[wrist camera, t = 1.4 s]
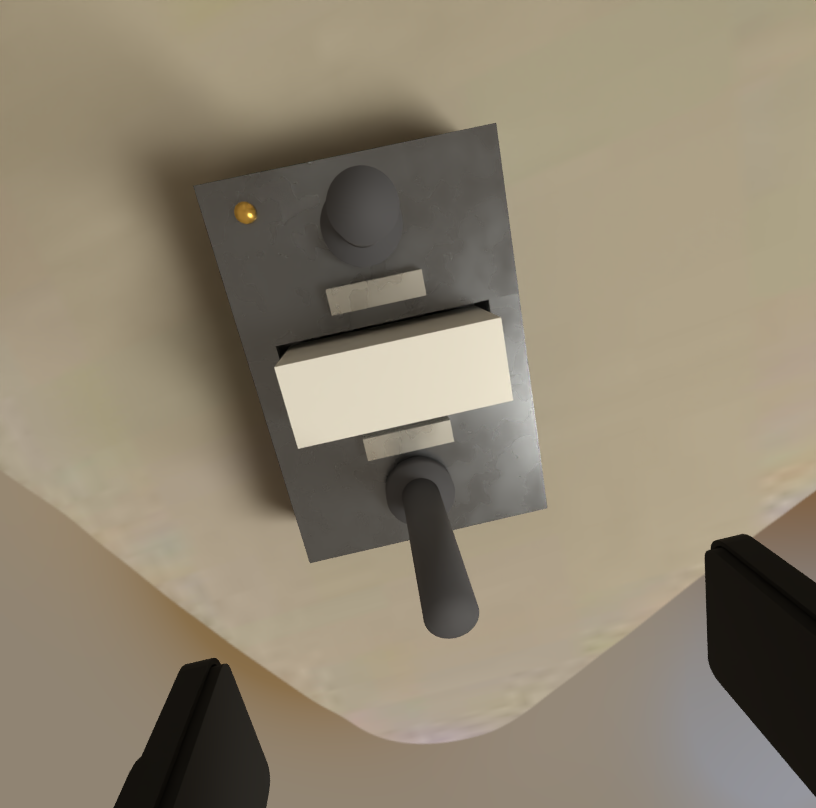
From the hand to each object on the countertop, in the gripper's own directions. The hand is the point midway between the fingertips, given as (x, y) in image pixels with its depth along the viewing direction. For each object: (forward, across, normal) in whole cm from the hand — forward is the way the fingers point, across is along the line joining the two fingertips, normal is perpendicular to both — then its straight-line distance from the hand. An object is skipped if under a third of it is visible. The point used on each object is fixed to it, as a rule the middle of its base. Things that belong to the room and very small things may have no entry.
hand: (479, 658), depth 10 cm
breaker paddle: (+27, 0, 0) cm, 27 cm away
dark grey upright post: (+24, 0, -10) cm, 26 cm away
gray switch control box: (+31, 0, -1) cm, 31 cm away
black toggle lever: (+25, 0, +8) cm, 26 cm away
